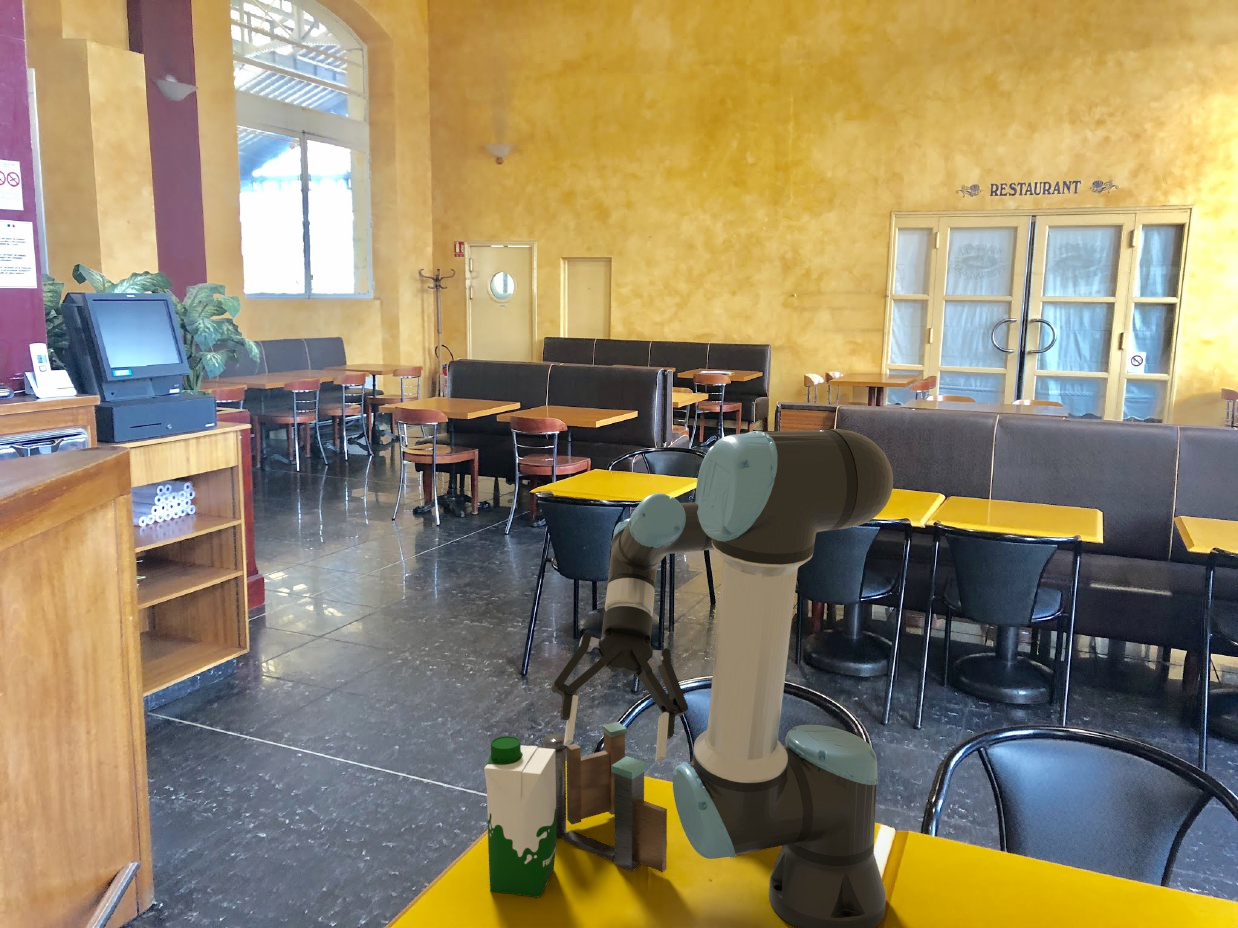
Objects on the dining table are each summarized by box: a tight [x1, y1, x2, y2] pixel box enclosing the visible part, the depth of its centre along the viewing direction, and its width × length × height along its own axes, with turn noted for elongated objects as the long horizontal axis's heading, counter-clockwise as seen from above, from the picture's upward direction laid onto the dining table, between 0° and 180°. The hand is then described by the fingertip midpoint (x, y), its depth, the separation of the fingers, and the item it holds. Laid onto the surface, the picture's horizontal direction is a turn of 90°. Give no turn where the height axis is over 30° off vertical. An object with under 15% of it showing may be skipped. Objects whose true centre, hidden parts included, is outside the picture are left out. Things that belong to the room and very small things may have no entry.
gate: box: [566, 721, 628, 825], centre depth 144 cm, size 9×3×14 cm, turn 119°
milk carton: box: [483, 735, 557, 898], centre depth 129 cm, size 9×9×20 cm
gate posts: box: [542, 733, 668, 873], centre depth 136 cm, size 21×4×15 cm, turn 54°
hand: (614, 751), depth 133 cm, fingers open, 13 cm apart
